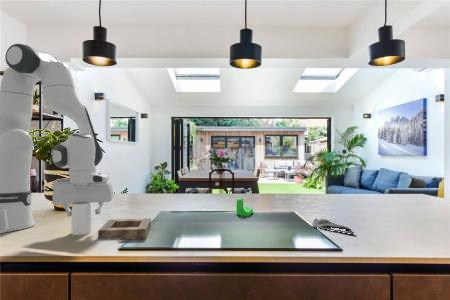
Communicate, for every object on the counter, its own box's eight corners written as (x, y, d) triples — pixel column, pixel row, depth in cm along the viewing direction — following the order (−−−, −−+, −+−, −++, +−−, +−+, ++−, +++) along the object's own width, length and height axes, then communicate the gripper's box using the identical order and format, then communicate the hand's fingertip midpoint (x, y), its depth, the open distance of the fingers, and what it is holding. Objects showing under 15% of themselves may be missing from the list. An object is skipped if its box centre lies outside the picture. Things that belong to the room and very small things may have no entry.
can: (67, 236, 106) (67, 203, 106) (80, 231, 112) (80, 200, 112) (82, 238, 104) (83, 204, 104) (94, 233, 110) (95, 201, 110)
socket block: (98, 240, 101) (98, 230, 101) (109, 228, 117) (109, 219, 117) (146, 238, 104) (146, 228, 104) (150, 227, 119) (150, 218, 119)
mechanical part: (248, 216, 140) (248, 199, 140) (236, 215, 142) (236, 198, 142) (253, 211, 152) (253, 195, 152) (242, 210, 154) (242, 195, 154)
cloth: (303, 220, 135) (303, 215, 135) (332, 219, 136) (332, 215, 136) (325, 236, 109) (325, 230, 109) (361, 236, 110) (361, 230, 110)
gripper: (48, 179, 103) (50, 219, 104) (109, 177, 107) (111, 215, 107) (55, 177, 109) (57, 214, 110) (113, 175, 113) (114, 211, 113)
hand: (84, 215), depth 108 cm, fingers open, 8 cm apart
